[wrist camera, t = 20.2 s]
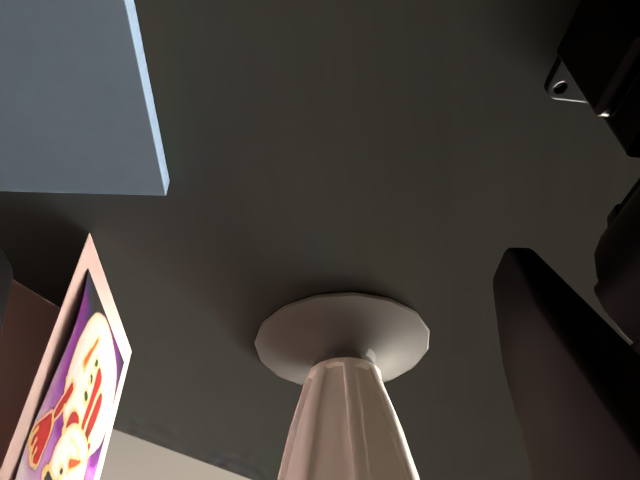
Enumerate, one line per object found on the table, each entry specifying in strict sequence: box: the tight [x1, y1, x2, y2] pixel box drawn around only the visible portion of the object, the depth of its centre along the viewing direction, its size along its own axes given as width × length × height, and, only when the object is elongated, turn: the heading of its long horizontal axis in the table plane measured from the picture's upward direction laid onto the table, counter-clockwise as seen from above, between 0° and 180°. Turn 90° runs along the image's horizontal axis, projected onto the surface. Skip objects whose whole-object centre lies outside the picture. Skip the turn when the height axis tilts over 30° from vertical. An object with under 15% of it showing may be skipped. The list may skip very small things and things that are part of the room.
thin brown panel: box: [0, 233, 132, 480], centre depth 27 cm, size 11×7×15 cm, turn 176°
